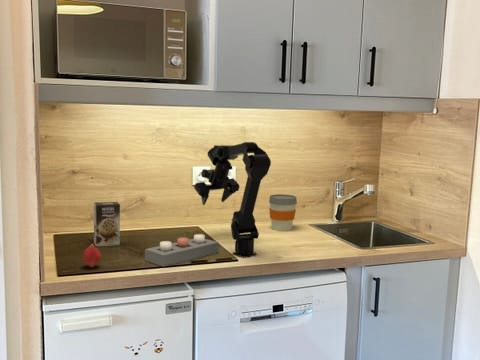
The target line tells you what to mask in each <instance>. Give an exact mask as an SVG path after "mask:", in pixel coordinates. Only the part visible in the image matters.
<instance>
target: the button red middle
mask: <svg viewBox="0 0 480 360" xmlns="http://www.w3.org/2000/svg"><path fill="white" fill-rule="evenodd" d="M189 240H190V239H189V238H188V237H178V238H177V240H176V241H177V247H180V248H185V247H188V246H189Z"/></svg>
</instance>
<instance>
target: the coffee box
mask: <svg viewBox="0 0 480 360" xmlns="http://www.w3.org/2000/svg"><path fill="white" fill-rule="evenodd" d="M120 223H121V204H120V203H119V202H118V201H103V202H102V201H101V202H94V203H93V245H94V247H107V246H108V247H110V246H120V245H121V244H120V243H121V242H120V239H121V235H120V234H121V233H120V232H121V231H120V229H121V224H120Z"/></svg>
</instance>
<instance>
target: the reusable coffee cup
mask: <svg viewBox="0 0 480 360" xmlns="http://www.w3.org/2000/svg"><path fill="white" fill-rule="evenodd" d="M297 199H298V198H297V196H295V195H292V194H275V193H274V194H271V195H270V196H269V199H268V200H269V201H268V202H269V218H270V223H271V229H272V230H273V231H277V232H290V231H292V230H293V229H292V227H293V221H294V220H295V217H296V211H297V209H296V206H297Z"/></svg>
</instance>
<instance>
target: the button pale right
mask: <svg viewBox="0 0 480 360" xmlns="http://www.w3.org/2000/svg"><path fill="white" fill-rule="evenodd" d="M193 239H194V243H196V244H202V243H205V239H206V237H205V234H203V233H202V234H201V233H197V234H194V235H193Z"/></svg>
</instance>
